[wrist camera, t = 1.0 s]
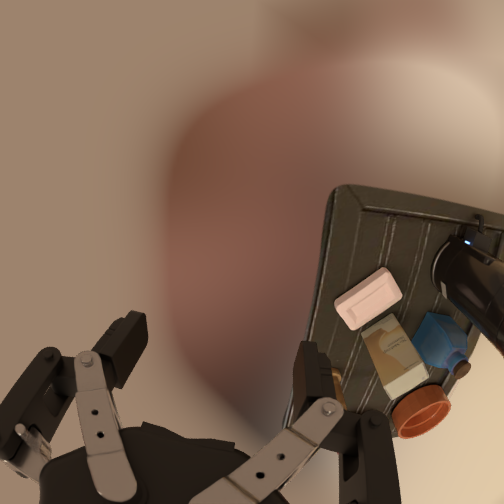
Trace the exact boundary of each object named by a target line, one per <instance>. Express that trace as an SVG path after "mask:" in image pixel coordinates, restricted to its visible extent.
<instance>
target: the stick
mask: <svg viewBox="0 0 504 504" xmlns="http://www.w3.org/2000/svg"><path fill="white" fill-rule="evenodd" d="M331 370H332V374H333V375H332V376H333V380H334V386H335V392H336V398H337V401H339V402H340V403H341V404H342V406H343V408H344V409H345V410H347V407H346V403H345V400H344V396H343V393H342V389H341V386H340V381H341V375H340V372H339V370H338V369H336V368H331Z"/></svg>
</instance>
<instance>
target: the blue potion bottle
mask: <svg viewBox="0 0 504 504" xmlns="http://www.w3.org/2000/svg"><path fill="white" fill-rule="evenodd" d="M411 342H412V344H413V345H414V347H415V348H416V350H417V351H418V353H419V354H420V356H421V357H422V359H423V360H424V362H425V363H426V364H429V365H432V366H435V367H438V368H448V369H449V371H450V373H451V374H452V375H454V376H455V378H456V379H460V378H462V377H464V376H465V375H466V374H467V373H468V372H469V370H470V368H471V364H470V363H469V362H468V359H467V357H466V356H465V355H464V353H465V352H466V350H467V335H466V334H465V332H464V331H463V330H462V329H461V328H460V327H459V326H458V325H457V324H456V322H455V321H454V320H453V319H452V318H451V317H450V316H446V315H441V314H436V313H431V312H427V314H426V316H425V317H424V319H423V321H422V323H421V325H420V327H419V328H418V330H417V332H416V334H415V335H414V337H413V339H412V341H411Z"/></svg>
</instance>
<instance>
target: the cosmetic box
mask: <svg viewBox="0 0 504 504" xmlns="http://www.w3.org/2000/svg"><path fill="white" fill-rule="evenodd" d="M361 335H362V337H363V340H364V342H365V344H366V346H367V349H368V351H369V353H370V356H371V358H372V360H373V363H374V365H375V368H376V370H377V372H378V375H379V377H380V380H381V382H382V385H383V387H384V389H385V391H386V393H387V394H388V396H389V397H390V399H391V400H393V399H395V398H397V397H398V396H400V395H402V394H403V393H405V392H407V391H409V390H411V389H412V388H414V387H415V386H416V385H418V384H420V383H421V382H423V381H424V380H426V379H427V378H429V375H428V372H427V369H426V367H425V365H424V363H423V361H422V359H421V358H420V356H419V354H418V352H417V351H416V349H415V347H414V346H413V344H412V343H411V341H410V339H409V338H408V336H407V335H406V333H405V331H404V330H403V328H402V327H401V325H400V324H399V322H398V321H397V319H396V317H395V316H394V314H393V313H391V314H389V315H388V316H386V317H385V318H383V319H382V320H380V321H378V322H377V323H375V324H374V325H372V326H371V327H369V328H368V329H366V330H365V331H363V332H362V333H361Z"/></svg>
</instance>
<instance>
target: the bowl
mask: <svg viewBox="0 0 504 504" xmlns="http://www.w3.org/2000/svg"><path fill="white" fill-rule="evenodd" d="M450 408H451V404H450V401H449V400H448V398H447V396H446V395H445V393H444V391H443V390H442V388H441V386H438V385H429V386H424V387H421V388H419V389H417V390H415V391H413V392H411V393H410V394H408V395H407V396H406V397H405V398H403V399H402V400H401V401H400V402H399V404H398V405H397V406H396V408H395V409H394V410H393V413H392V421H393V423H394V426H395V428H396V431H397V434H398V436H399V437H400V438H404V439H408V438H413V437H417V436H419V435H421V434H424V433H426V432H428V431H429V430H431V429H432V428H434V427H435V426H436V425H438V424H439V423H440V422H441V421H442V420H443V419H444V418H445V417H446V416H447V414H448V412H449V411H450Z"/></svg>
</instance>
